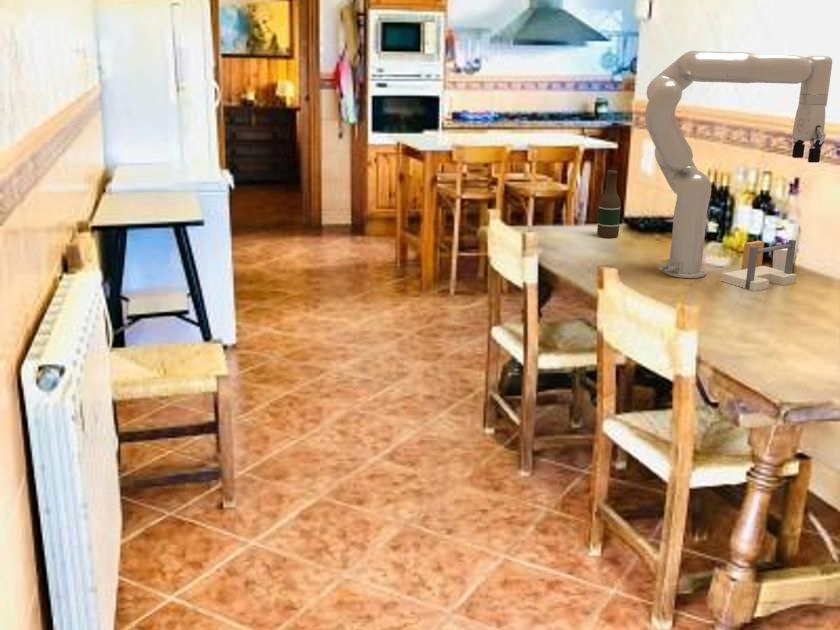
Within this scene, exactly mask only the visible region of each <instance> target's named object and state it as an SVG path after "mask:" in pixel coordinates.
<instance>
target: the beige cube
mask: <svg viewBox="0 0 840 630" xmlns="http://www.w3.org/2000/svg"><path fill="white" fill-rule="evenodd" d="M797 251H798V250H797V247H795V254H794V261H793V264H794V263H795V259H796V255H797ZM772 256H773V257H772V268H774V269H778V270H781V271H785V263H786V256H787V248H785V249H780V250H774V251H772Z"/></svg>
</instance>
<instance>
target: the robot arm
mask: <svg viewBox="0 0 840 630" xmlns="http://www.w3.org/2000/svg"><path fill="white" fill-rule="evenodd" d="M832 68H833V59H832V57H830V56H826V55H809V56H801V55H795V54H794V55H793V54H792V55H791V54H788V55H786V54H785V55H772V54H771V55H769V54H760V53H759V54H758V53H753V52H747V51H746V52H745V51H743V52H742V51H711V50H709V51H708V50H707V51H703V50H689V51H687V52H685V53H683V54H682V55H681V56H679V57H678V58H677V59H676V60H675V61H674V62H673V63H671V64H670V65H669V66H667V67H666V68H665V69H663V70H662V71H661V72H660V73H659V74H658V75H656V76H655V77H654V78H653V79H651V81H650V82H649V84H648V85H647V87H646V97H647V99H648V101H647V104H646V107H645V111H644V121H645V122H644V124H645V127H646V130H647V133H648V134H649V137H650V138H651V141H652V144H653V146H654V148H655V149H654V156H655V161H656V162H657V165H658V167H659V168H660V170H661V172H662V174H663V176H664V178H665V179H666V182H667V183H668V185H669V187H670V188H671V191H673V193H674V194H675V195H676V200H675V201H676V202H675V206H674V212H673V220H672V233H671V242H670V243H671V245H670V255H669V258H667V260H666V262H665V263H660V264H658V266H657V268H658V270H660V271H663V273H664V274H666V275H667V276H669V277H675V278H682V279H699V278H702V277H705V276H706V275H707V270H706V269H705V268H702V265H703V264H702V263H703V255H704V245H705V236H706V235H705V234H706V226H707V216H708V209H709V205H710V200H711V195H712V184H711V181H710V179H709V177H708V176H707V175H706V174H705V173H704V172H702V171H700V170H698V168H697V166H696V164H695V163H694V160H693V159H694V158H693V157H694V154H693V153H694V152H693V150H692V147H691V146H690V144H689V142H688V140H687V139H686V137H685V135H684V133H683V132H682V130H681V128H680V125H679V123H678V120H677V119H676V109H677V107H678V104H679V103H680V101H681V100H682V96H683V91H684V90H685V89H687V88H688V87H689V86H690V85H692V84H693V82H698V83H699V82H700V83H701V82H702V83H729V84H730V83H733V84H757V83H758V84H759V83H760V84H761V83H764V84H785V85H786V84H789V85H790V84H791V85H795V84H800V90H799V97H798V98H799V99H798V104H797V105H798V106H797V108H796V112H795V118H794V121H793V122H794V123H793V129H792V137H793V141H792V143H793V148H792V153H791V154H792V156H791V157H792V158H793V159H802V158H804V154H805V147H806V144H805V142H808V141H809V146H810V148H808V149H809V150H808V158H807V162H808V163H813V164H814V163H820V159H821V153H822V152H821V150H822V149H823V145H824V143H825V138H826V136H827V135H826V132H825V124H826V107H827V105H828V99H829V98H828V97H829V90H830V83H831V76H832Z"/></svg>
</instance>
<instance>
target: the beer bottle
mask: <svg viewBox="0 0 840 630" xmlns="http://www.w3.org/2000/svg"><path fill="white" fill-rule="evenodd" d="M606 174H607V175H606V177H607V178H606V182H605V189H604V193H603V194H602V196H601V198H600V200H599V204H598V212H597V213H598V217H597V231H596V235H597V237H599V238H601V239H609V240H610V239H617V238H618V236H619V231H620V220H621V198H620V196H619V195H618V193H617V192H618V191H617V174H618V170H616V169H608V170H607V172H606Z"/></svg>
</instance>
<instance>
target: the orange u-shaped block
mask: <svg viewBox="0 0 840 630" xmlns="http://www.w3.org/2000/svg"><path fill="white" fill-rule="evenodd" d="M751 246H756V247H758V249H761V248H765V241H762V240H755V241H749V242H744V244H743V253H742V260H741V261H742V262H741V270H743V269H748V261H749V253H750V247H751ZM763 255H764V252H762V253H757V260H756V267H759V266H763V265H762V264H763V257H764V256H763Z"/></svg>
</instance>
